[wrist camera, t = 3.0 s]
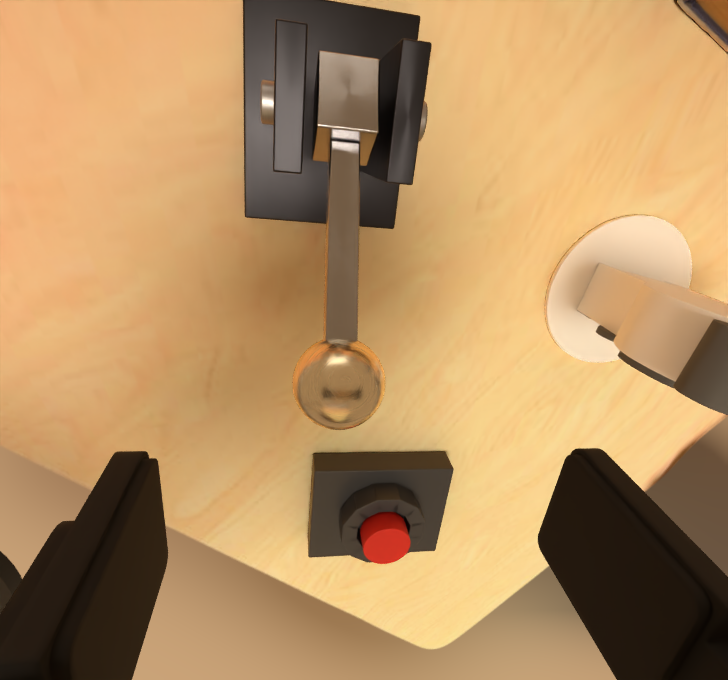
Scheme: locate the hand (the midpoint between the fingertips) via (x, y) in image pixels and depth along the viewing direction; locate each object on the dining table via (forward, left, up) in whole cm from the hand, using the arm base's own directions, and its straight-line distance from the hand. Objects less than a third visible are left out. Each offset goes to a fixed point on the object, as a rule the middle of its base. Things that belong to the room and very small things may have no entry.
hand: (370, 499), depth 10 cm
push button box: (+6, -20, -21) cm, 29 cm away
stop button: (+6, -20, -17) cm, 27 cm away
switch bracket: (0, +8, -21) cm, 22 cm away
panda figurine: (+22, -1, -21) cm, 30 cm away
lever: (0, +3, -9) cm, 10 cm away
